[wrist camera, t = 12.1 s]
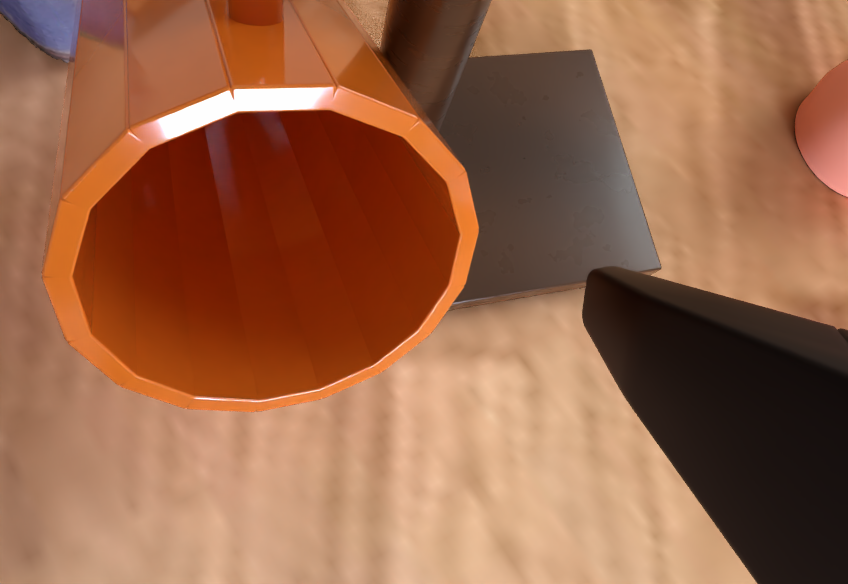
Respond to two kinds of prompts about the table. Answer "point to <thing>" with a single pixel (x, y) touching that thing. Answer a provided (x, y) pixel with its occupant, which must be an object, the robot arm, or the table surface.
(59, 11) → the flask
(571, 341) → the table surface
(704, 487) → the robot arm
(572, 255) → the hook stand
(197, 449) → the table surface
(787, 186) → the table surface
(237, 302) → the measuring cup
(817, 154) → the pottery
